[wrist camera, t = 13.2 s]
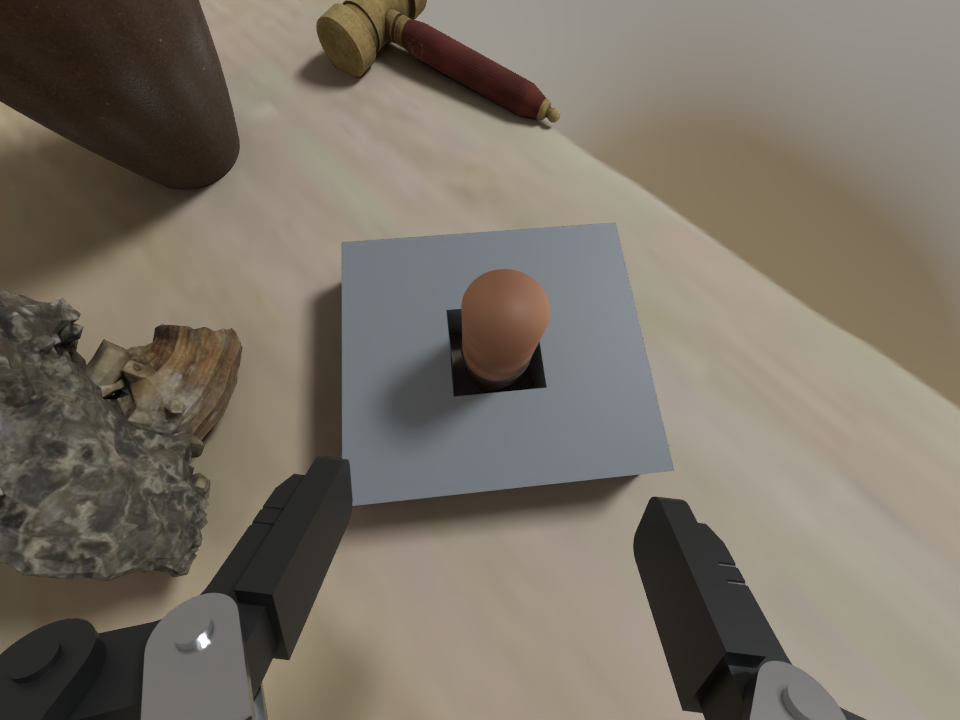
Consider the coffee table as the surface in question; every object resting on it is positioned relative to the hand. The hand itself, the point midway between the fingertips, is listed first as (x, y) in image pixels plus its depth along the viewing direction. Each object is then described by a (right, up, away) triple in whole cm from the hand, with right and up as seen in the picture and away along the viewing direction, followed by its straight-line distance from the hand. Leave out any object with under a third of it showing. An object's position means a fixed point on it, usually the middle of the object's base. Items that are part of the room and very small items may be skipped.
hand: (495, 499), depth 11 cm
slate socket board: (0, +3, +17) cm, 17 cm away
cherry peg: (0, +3, +17) cm, 17 cm away
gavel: (-3, +29, +25) cm, 38 cm away
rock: (-21, -1, +15) cm, 26 cm away
